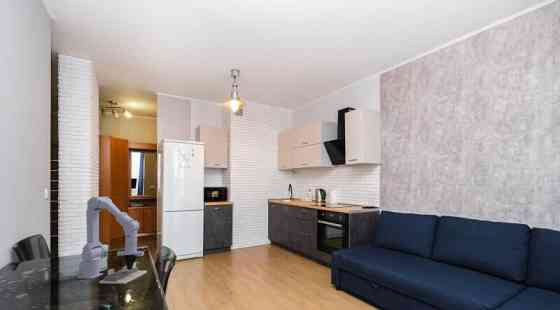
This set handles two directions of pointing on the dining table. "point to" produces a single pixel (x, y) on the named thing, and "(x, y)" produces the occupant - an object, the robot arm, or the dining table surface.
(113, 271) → the knob near
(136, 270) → the switch unit
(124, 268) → the knob middle
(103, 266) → the syrup box
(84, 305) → the dining table surface
